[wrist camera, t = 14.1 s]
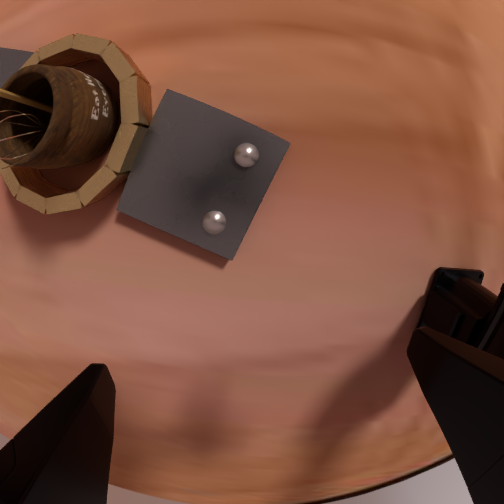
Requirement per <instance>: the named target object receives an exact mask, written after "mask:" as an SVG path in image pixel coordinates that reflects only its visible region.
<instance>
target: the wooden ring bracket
mask: <svg viewBox="0 0 504 504" xmlns="http://www.w3.org/2000/svg"><path fill="white" fill-rule="evenodd" d="M90 59H91V60H95V61H99V62H103V63H106V64H107V65H108V66H109V68H110V69H111V71H112V72H113V73H114V75H115V76H116V78H117V79H118V80H119V82H120V107H121V125H120V128H119V130H118V132H117V135H116V137H115V140H114V142H113V145H112V147H111V150H110V152H109V155H108V158H107V160H106V163H105V165H104V166H103V167H102V168H100V169H99V170H98V171H97V172H96V173H95V174H94V175H93V176H92V177H91V178H90V179H89V180H88V181H87V182H86V183H85V184H84V185H83V186H82V187H81V188H80V189H75V190H71V191H68V190H66V189H64V188H62V187H59V186H57V185H55V184H53V183H51V182H49V181H47V180H44V178H43V176H42V175H41V173H40V171H39V170H38V169H36V168H32V167H19V166H11V167H8V166H10V165H9V164H7V163H5V162H3V161H2V160H0V169H2V168H5V167H8V168H5V169H2V170H0V173H1V175H2V177H3V179H4V181H5V183H6V184H7V186H8V188H9V190H10V191H11V193H12V195H13V197H16V200H18V201H20V202H22V203H24V204H26V205H27V206H29V207H31V208H33V209H35V210H37V211H39V212H41V213H43V214H46V213H47V215H48V214H53V213H58V212H63V211H69V210H74V209H80V208H83V207H85V206H88V205H90V204H92V203H94V202H97V201H99V200H101V199H103V198H105V197H106V196H107V195H108V194H109V193H110V192H112V191H113V190H114V189H115V188H116V187H117V186H118V185H119V184H121V183H122V182H123V181H124V180H125V179H126V178H127V177H128V179H127V181H126V184H125V187H124V190H123V192H122V195H121V198H120V201H119V204H118V207H117V210H118V211H120V212H122V213H124V214H127V215H129V216H131V217H133V218H135V219H138V220H140V221H142V222H145V223H147V224H149V225H151V226H154V227H156V228H158V229H160V230H163V231H165V232H167V233H169V234H172V235H174V236H176V237H179V238H181V239H183V240H185V241H188V242H190V243H192V244H195V245H197V246H199V247H202V248H204V249H206V250H209V251H211V252H213V253H215V254H218V255H220V256H222V257H225V258H227V259H229V260H233V258H234V256H235V254H236V252H237V250H238V248H239V246H240V244H241V242H242V240H243V238H244V236H245V234H246V232H247V229H248V227H249V225H250V223H251V221H252V219H253V217H254V215H255V213H256V211H257V209H258V207H259V205H260V203H261V201H262V199H263V197H264V195H265V193H266V191H267V189H268V187H269V185H270V183H271V181H272V179H273V177H274V175H275V173H276V171H277V169H278V167H279V165H280V163H281V161H282V159H283V157H284V155H285V153H286V151H287V149H288V147H289V145H290V143H289V142H288V141H286V140H284V139H282V138H280V137H278V136H276V135H274V134H272V133H270V132H268V131H266V130H263V129H261V128H259V127H257V126H255V125H253V124H251V123H249V122H246V121H244V120H242V119H240V118H238V117H235V116H233V115H231V114H229V113H226V112H224V111H222V110H219V109H217V108H215V107H212V106H210V105H208V104H205V103H203V102H200V101H198V100H195V99H193V98H190V97H188V96H185V95H182V94H180V93H177V92H174V91H172V90H169V89H167V90H166V92H165V94H164V96H163V98H162V100H161V102H160V104H159V106H158V109H157V111H156V113H155V115H154V117H153V119H152V104H151V86H150V85H148V84H149V82H148V80H147V79H146V78H145V76H144V75H143V74H142V72H141V71H140V70H139V68H138V67H137V66H136V64H135V63H134V62H133V60H132V59H131V58H130V56H129V55H128V54H126V53H125V52H124V51H123V50H122V49H121V48H119V47H118V46H117V45H116V44H115V43H114V42H112V41H111V40H107V39H102V38H98V37H93V36H88V35H82V34H76V35H74V34H72V35H69V36H67V37H64V38H62V39H59V40H57V41H55V42H52V43H50V44H48V45H46V46H44V47H41V48H39V52H38V51H35V53H34V52H28V51H21V50H15V49H7V48H0V89H1V88H2V86H3V85H4V84H5V82H6V81H7V80H8V79H9V78H10V77H11V76H12V75H13V74H14V73H15V72H17V71H18V70H20V69H22V68H24V67H26V66H29V65H35V64H42V65H50V66H53V67H56V66H63V67H70V66H73V65H75V64H78V63H81V62H84V61H87V60H90ZM146 127H149V128H146Z"/></svg>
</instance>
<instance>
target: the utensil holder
mask: <svg viewBox="0 0 504 504" xmlns="http://www.w3.org/2000/svg"><path fill="white" fill-rule="evenodd" d="M117 122H118V107H117V102H116V99H115V97H114V95H113V93H112V92H111V90H110V89H109V88H108V87H107V86H106V85H105V84H104V83H102V82H101V81H99V80H97V79H96V78H94V77H92V76H90V75H87V74H85V73H83V72H81V71H79V70H76V69H73V68H70V67H63V66H56V67H53V66H50V65H42V64H35V65H29V66H26V67H24V68H22V69H20V70H18V71H17V72H15V73H14V74H13V75H12V76H11V77H10V78H9V79H8V80H7V81H6V82H5V84H4V85H3V86H2V88H1V89H0V160H2V161H3V162H5V163H7V164H9V165H10V166H8V167H11V166H19V167H32V168H36V169H55V168H62V167H69V166H74V165H79V164H82V163H85V162H88V161H90V160H92V159H93V158H95V157H96V156H98V155H99V154H100V153H101V152H102V151H103V150H104V149H105V148H106V147H107V145H108V144H109V143H110V141H111V139H112V137H113V135H114V133H115V130H116V127H117ZM8 167H5V168H8ZM5 168H2V169H5ZM2 169H0V170H2Z"/></svg>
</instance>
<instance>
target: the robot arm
mask: <svg viewBox="0 0 504 504" xmlns="http://www.w3.org/2000/svg"><path fill="white" fill-rule="evenodd" d="M441 272H442V273H441ZM440 274H441V275H440ZM483 277H484V273H483V272H482V271H481V270H473V269H459V268H446V267H439V268H438V269H437V270H436V272H435V276H434V279H433V282H432V286H431V289H430V292H429V295H428V298H427V301H426V304H425V307H424V310H423V313H422V315H421V318H420V321H419V323H418V326H417V329H415V330H414V331H413V333H412V336H411V339H410V342H409V345H408V347H407V356H408V359H409V361H410V363H411V366H412V368H413V370H414V373H415V375H416V378H417V380H418V382H419V385H420V387H421V390H422V392H423V394H424V396H425V398H426V400H427V402H428V404H429V406H430V408H431V410H432V412H433V414H434V416H435V418H436V420H437V422H438V424H439V426H440V428H441V430H442V432H443V434H444V436H445V438H446V440H447V442H448V444H449V447H450V449H451V451H452V453H453V455H454V457H455V460H456V462H457V464H458V466H459V469H460V471H461V473H462V476H463V478H464V480H465V483H466V485H467V487H468V490H469V493H470V495H471V498H472V501H473V503H474V504H504V283H503V284H502V286H501V289H500V290H501V291H500V293H499V295H498V296H497V295H495V294H494V293H492V292H491V291H489V290H488V289H487V288H485V287H484V286H482V285H481V283H482V280H483ZM115 394H116V390H115V384H114V382H113V379H112V377H111V375H110V372H109V370H108V368H107V366H106V365H105V364H101V363H92V364H90V365H89V366H88V367H87V368H86V369H85V370H84V371H83V372H81V373H80V374H79V375H78V376H77V377H76V378H75V379H74V380H73V381H72V382H71V383H70V384H69V385H67V386H66V387H65V388H64V389H63V390H62V391H61V392H60V393H59V394H58V395H57V396H56V397H55V398H54V399H53V400H52V401H51V402H49V403H48V404H47V405H46V406H45V407H44V408H43V409H42V410H41V411H40V412H39V413H38V414H37V415H36V416H35V417H34V418H33V419H32V420H31V421H30V422H29V423H28V424H27V425H25V426H24V427H23V428H22V429H21V430H20V431H19V432H18V433H17V434H16V435H15V436H14V438H13V439H11V440H10V441H9V442H8V443H7V444H6V445H5V446H4V447H3V448H2V449H1V450H0V504H106V503H107V490H108V480H109V471H110V462H111V454H112V446H113V437H114V411H115Z"/></svg>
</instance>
